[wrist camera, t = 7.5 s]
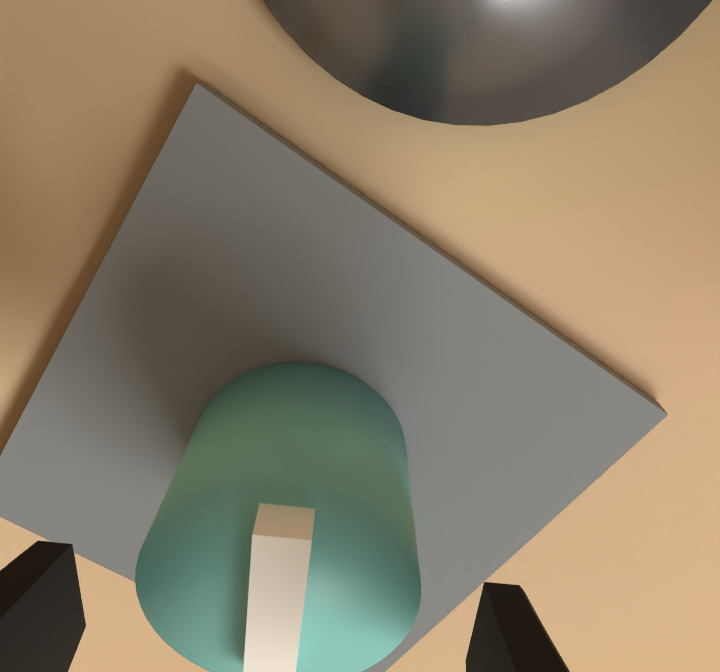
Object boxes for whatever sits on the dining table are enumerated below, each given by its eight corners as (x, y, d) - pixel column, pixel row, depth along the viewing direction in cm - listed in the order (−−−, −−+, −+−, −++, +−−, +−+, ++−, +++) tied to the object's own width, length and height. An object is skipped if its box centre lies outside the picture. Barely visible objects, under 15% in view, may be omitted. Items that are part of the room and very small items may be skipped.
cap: (389, 545, 15) (400, 735, 11) (193, 525, 15) (125, 711, 11) (422, 375, 13) (451, 528, 9) (195, 350, 13) (112, 493, 9)
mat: (658, 402, 14) (667, 414, 13) (362, 676, 18) (362, 692, 18) (203, 81, 11) (196, 83, 11) (-14, 491, 16) (-25, 504, 15)
